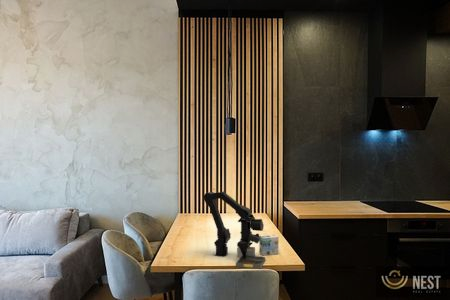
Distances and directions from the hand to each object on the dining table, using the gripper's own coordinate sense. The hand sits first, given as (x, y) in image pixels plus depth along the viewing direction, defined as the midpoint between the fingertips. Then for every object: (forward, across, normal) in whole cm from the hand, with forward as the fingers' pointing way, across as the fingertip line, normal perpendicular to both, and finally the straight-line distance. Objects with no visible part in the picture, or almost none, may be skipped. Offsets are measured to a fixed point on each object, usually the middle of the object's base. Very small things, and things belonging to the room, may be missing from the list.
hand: (245, 256), depth 217 cm
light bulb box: (0, +12, -12) cm, 17 cm away
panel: (+1, +1, 0) cm, 1 cm away
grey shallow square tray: (+2, -10, -5) cm, 11 cm away
